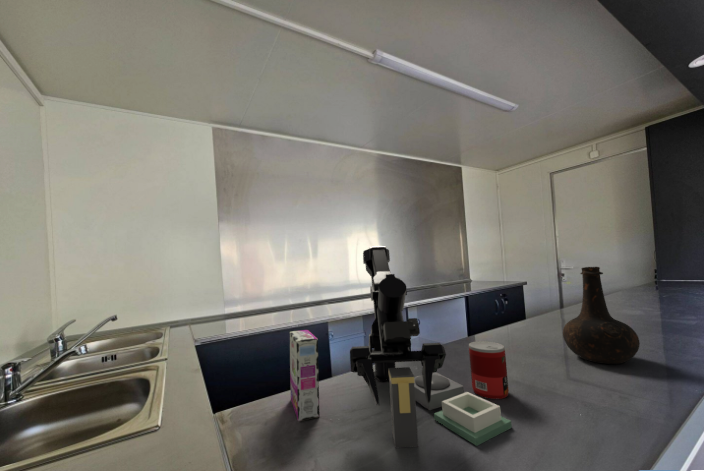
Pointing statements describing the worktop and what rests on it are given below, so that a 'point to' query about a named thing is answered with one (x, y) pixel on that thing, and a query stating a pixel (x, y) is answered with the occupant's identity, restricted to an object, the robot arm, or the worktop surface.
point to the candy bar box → (304, 374)
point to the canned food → (488, 369)
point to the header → (472, 418)
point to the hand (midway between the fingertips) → (403, 403)
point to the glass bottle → (599, 327)
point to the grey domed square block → (436, 390)
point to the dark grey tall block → (403, 407)
